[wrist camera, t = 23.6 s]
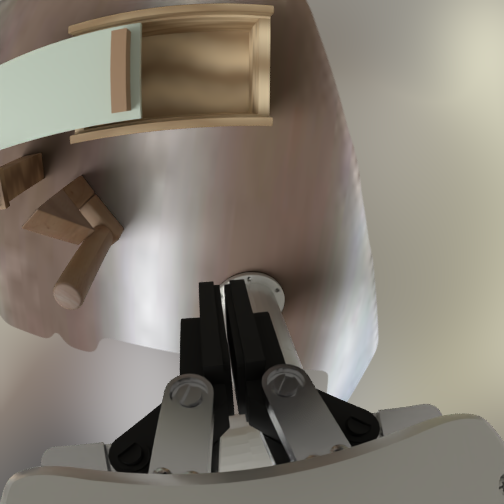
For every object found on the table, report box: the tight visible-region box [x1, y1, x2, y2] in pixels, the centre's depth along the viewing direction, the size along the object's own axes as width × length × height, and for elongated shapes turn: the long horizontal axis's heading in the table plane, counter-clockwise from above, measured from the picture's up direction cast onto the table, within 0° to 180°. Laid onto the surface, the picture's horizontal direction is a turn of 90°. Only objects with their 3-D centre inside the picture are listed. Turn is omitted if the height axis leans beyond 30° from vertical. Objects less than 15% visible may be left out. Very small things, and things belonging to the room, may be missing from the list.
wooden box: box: [68, 3, 274, 144], centre depth 28 cm, size 14×22×10 cm, turn 90°
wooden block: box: [22, 176, 124, 310], centre depth 31 cm, size 4×11×18 cm, turn 31°
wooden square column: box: [0, 153, 44, 210], centre depth 29 cm, size 5×5×12 cm
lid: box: [0, 23, 142, 150], centre depth 22 cm, size 11×21×3 cm, turn 90°
